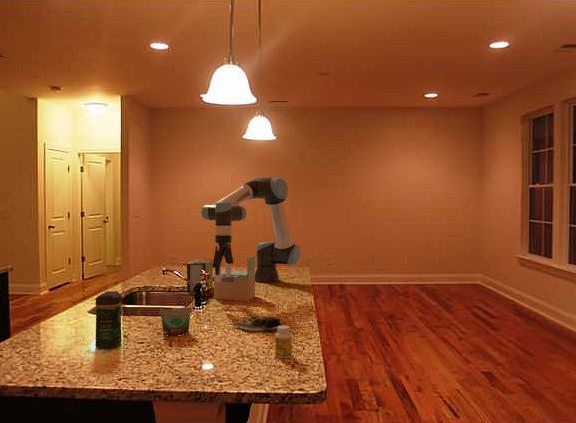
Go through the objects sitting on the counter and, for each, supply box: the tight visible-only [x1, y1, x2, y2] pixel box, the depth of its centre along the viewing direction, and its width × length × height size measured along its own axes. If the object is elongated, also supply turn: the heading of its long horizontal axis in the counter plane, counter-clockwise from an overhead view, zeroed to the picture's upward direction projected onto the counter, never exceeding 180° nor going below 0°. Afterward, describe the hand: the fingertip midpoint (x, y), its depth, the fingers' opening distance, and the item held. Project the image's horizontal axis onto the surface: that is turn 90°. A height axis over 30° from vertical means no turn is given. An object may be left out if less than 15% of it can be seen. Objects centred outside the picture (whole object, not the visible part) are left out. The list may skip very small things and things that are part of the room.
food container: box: [158, 304, 193, 337], centre depth 186 cm, size 12×6×10 cm, turn 117°
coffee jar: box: [94, 290, 123, 350], centre depth 173 cm, size 10×8×19 cm
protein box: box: [186, 259, 214, 293], centre depth 272 cm, size 10×15×16 cm
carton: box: [213, 254, 256, 302], centre depth 252 cm, size 10×18×21 cm, turn 76°
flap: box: [213, 270, 247, 282], centre depth 246 cm, size 22×16×2 cm
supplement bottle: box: [274, 325, 293, 359], centre depth 162 cm, size 5×5×10 cm
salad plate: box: [232, 316, 283, 333], centre depth 198 cm, size 19×18×5 cm
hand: (223, 279), depth 237 cm, fingers open, 13 cm apart
